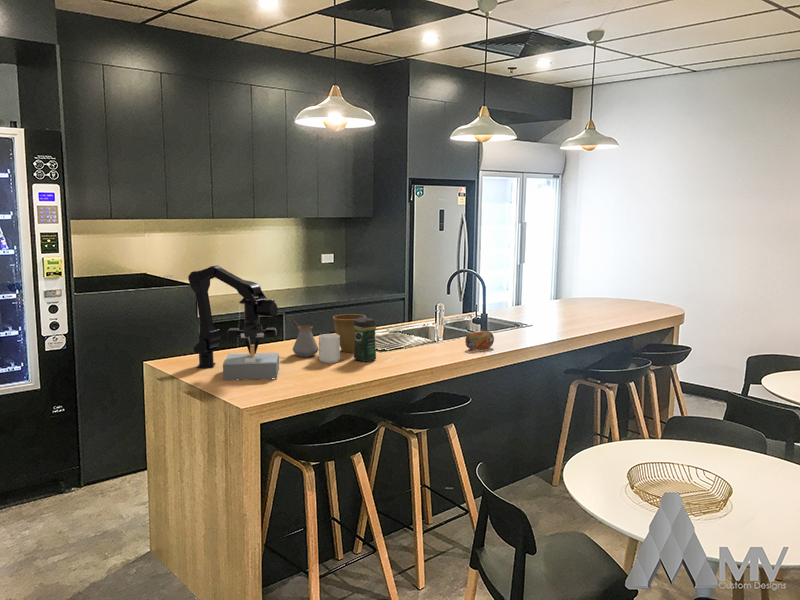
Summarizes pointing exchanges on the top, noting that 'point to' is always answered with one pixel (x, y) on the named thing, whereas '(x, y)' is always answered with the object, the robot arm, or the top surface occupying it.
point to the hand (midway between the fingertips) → (252, 353)
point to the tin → (479, 340)
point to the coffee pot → (304, 341)
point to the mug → (329, 348)
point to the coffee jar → (364, 339)
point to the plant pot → (346, 330)
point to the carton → (250, 371)
